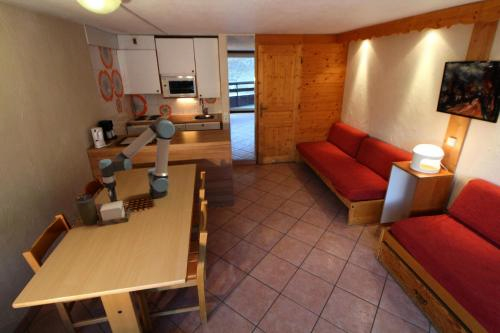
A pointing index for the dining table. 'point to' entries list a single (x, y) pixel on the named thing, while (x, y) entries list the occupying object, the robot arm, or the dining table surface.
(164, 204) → the dining table surface
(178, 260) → the dining table surface
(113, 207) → the carton
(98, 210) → the brown small blob
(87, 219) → the canister
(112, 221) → the display bay
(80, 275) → the dining table surface
